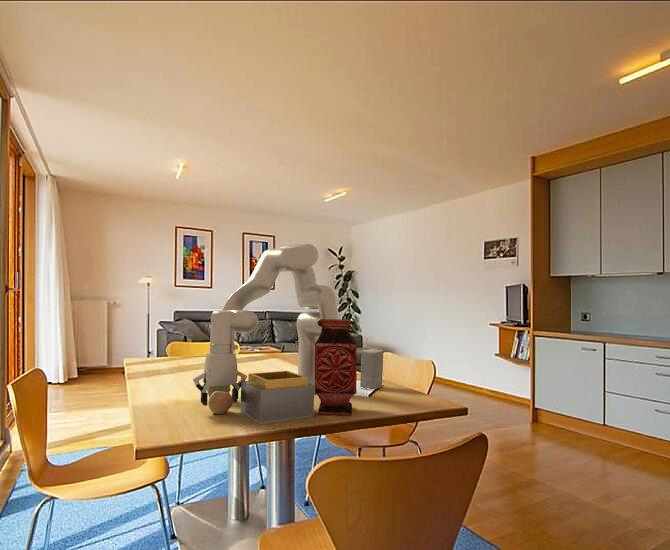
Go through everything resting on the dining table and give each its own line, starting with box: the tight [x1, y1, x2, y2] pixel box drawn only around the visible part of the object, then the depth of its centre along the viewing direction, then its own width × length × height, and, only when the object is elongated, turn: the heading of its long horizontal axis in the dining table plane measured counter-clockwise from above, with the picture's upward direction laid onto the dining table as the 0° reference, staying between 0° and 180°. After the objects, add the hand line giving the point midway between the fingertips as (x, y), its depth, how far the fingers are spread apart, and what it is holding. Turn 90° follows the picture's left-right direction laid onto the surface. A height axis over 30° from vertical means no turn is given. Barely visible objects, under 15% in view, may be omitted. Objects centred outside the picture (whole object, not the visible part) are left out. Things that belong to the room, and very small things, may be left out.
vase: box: [314, 318, 358, 416], centre depth 150 cm, size 14×14×30 cm
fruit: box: [208, 388, 233, 415], centre depth 144 cm, size 8×7×8 cm
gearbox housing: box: [239, 370, 315, 425], centre depth 143 cm, size 18×16×12 cm
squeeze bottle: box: [206, 385, 231, 398], centre depth 161 cm, size 8×8×18 cm
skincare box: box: [359, 348, 384, 390], centre depth 189 cm, size 8×7×16 cm
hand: (219, 403), depth 143 cm, fingers open, 9 cm apart
